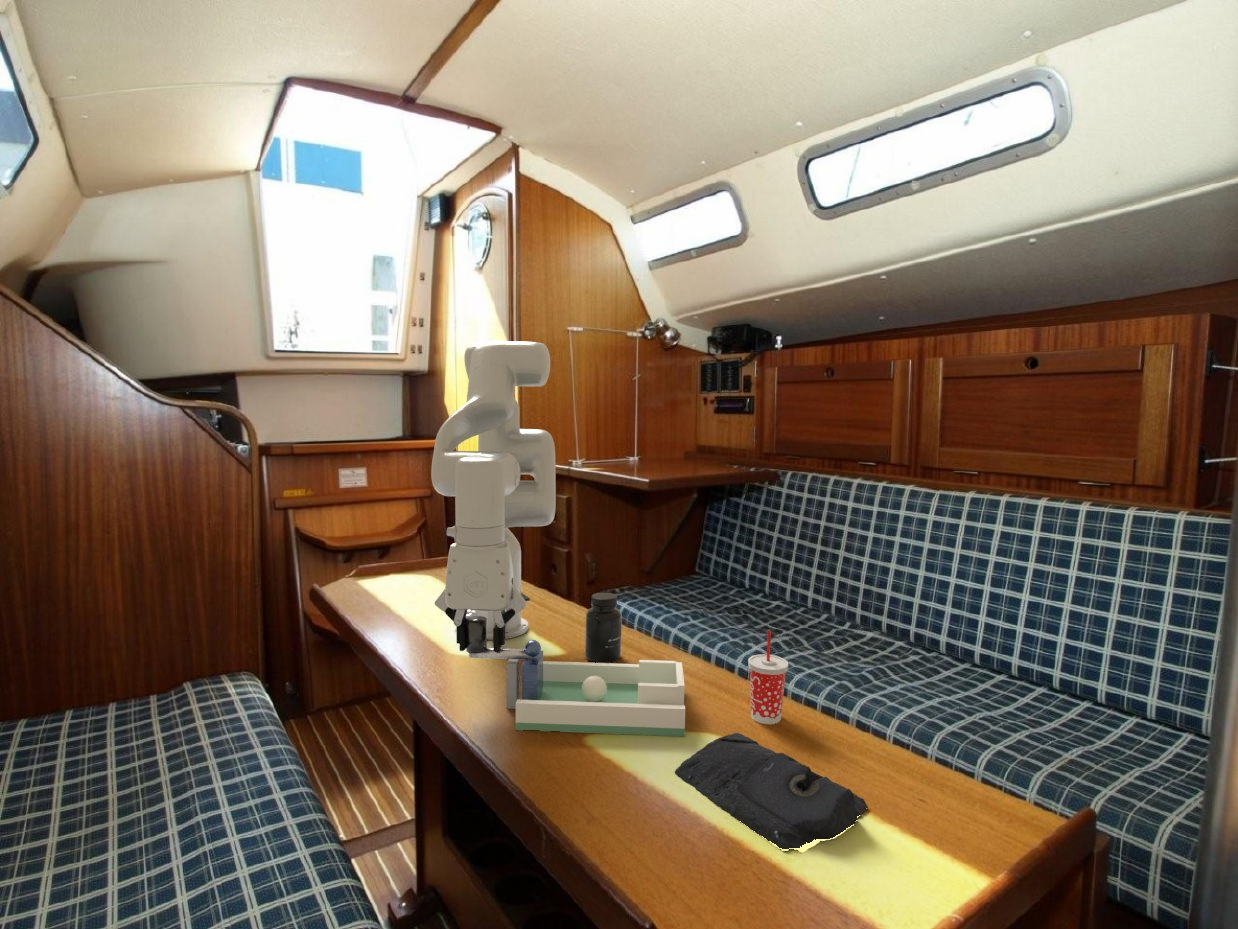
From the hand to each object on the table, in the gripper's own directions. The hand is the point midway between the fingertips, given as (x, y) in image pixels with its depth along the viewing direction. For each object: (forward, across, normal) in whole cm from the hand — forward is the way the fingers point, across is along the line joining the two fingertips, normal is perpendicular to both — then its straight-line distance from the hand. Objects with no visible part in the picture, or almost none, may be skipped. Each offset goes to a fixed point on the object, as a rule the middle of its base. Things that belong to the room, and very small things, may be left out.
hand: (481, 647), depth 109 cm
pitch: (+9, +18, 0) cm, 21 cm away
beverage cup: (+10, +45, 0) cm, 46 cm away
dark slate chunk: (+10, +42, -21) cm, 48 cm away
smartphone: (+10, -10, +54) cm, 56 cm away
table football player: (+8, +4, 0) cm, 9 cm away
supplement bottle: (+10, +18, +21) cm, 29 cm away
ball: (+6, +18, 0) cm, 19 cm away
